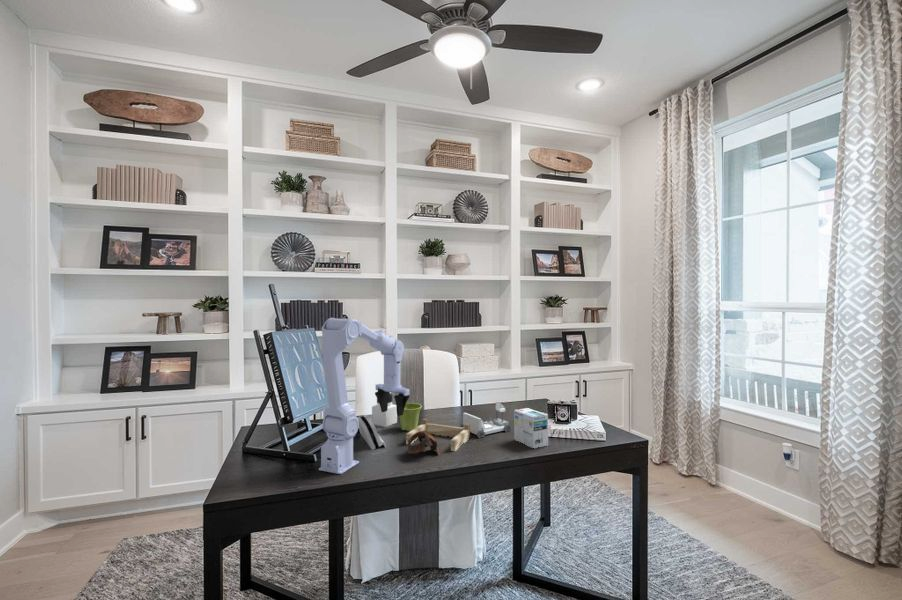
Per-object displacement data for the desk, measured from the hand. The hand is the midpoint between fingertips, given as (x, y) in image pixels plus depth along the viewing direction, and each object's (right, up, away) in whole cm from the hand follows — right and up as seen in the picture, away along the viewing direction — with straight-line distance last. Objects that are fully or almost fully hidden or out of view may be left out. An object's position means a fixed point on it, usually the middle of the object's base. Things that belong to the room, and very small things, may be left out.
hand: (392, 413), depth 155 cm
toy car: (+34, -11, +14) cm, 39 cm away
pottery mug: (+12, -11, -10) cm, 19 cm away
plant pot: (+5, -10, +16) cm, 19 cm away
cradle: (+16, -10, +1) cm, 19 cm away
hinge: (-8, -10, +1) cm, 13 cm away
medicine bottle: (-6, -10, +22) cm, 25 cm away
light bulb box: (+48, -10, 0) cm, 49 cm away
